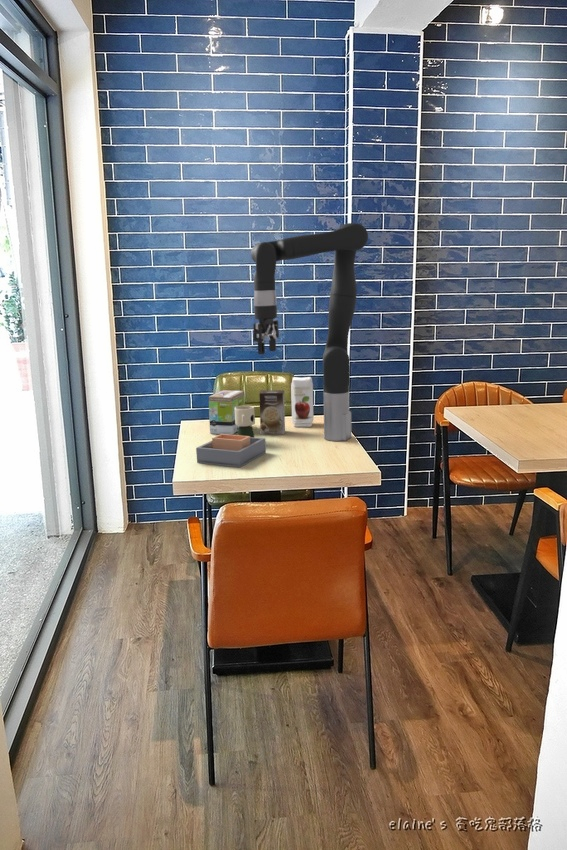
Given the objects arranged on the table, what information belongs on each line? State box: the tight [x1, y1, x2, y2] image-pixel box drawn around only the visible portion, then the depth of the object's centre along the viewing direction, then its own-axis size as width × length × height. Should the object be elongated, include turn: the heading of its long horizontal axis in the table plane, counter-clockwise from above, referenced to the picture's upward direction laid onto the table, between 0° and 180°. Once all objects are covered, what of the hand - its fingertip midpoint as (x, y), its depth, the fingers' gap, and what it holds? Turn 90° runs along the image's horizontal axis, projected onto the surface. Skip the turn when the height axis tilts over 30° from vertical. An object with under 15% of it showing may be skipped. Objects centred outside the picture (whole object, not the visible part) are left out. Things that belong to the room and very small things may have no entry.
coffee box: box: [259, 389, 286, 436], centre depth 247 cm, size 9×6×16 cm
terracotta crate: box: [211, 434, 250, 451], centre depth 216 cm, size 11×6×6 cm, turn 65°
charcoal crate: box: [195, 436, 267, 468], centre depth 217 cm, size 16×18×5 cm
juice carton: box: [290, 376, 314, 428], centre depth 257 cm, size 8×9×19 cm
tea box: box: [208, 389, 246, 435], centre depth 254 cm, size 15×10×15 cm
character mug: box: [235, 405, 256, 438], centre depth 235 cm, size 11×7×13 cm, turn 179°
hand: (267, 352), depth 222 cm, fingers open, 8 cm apart
